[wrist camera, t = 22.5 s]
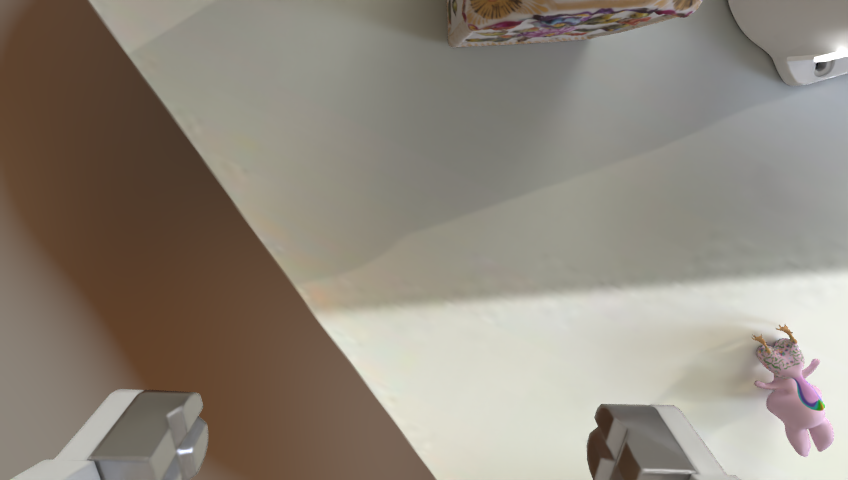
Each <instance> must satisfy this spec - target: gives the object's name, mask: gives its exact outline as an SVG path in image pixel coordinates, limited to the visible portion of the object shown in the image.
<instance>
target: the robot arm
mask: <svg viewBox="0 0 848 480" xmlns="http://www.w3.org/2000/svg"><path fill="white" fill-rule="evenodd" d="M728 3H729V6H730V9H731V12H732V14H733V16H734V18H735V20H736V22H737V24H738V25H739V27H740V28H741V30H742V31H743V32H744V34H745V35H746V36H747V37H748V38H749V39H750V40H752V41H753V42H754V43H755V44H757V45H758V46H759V47H761V48H762V49H763V50H765V51H766V52H767V53H768V54H769V55H770V56H771V57H772V59H773V61H774V64H775V66H776V68H777V71H778V73H779V75H780V77H781V78H782V80H783V81H784V82H785V83H786V84H787V85H789V86H800V85H807V84H811V83H815V82H819V81H822V80H826V79H830V78H833V77H837V76H841V75H844V74H848V0H728ZM817 62H819V65H818V68H817V69H815V66H816V63H817ZM202 408H203V404H202V400H201V396H200V394H198V393H195V392H177V391H159V390H131V389H118V390H116V391H114V392H113V393H111V394H110V395H109V396H108V397H107V398H106V399H105V401H104V402H103V403H102V404H101V405H100V406H99V408H98V409H97V410H96V411H95V412H94V413H93V414H92V416H91V417H90V418H89V419H88V420H87V421H86V423H85V424H84V425H83V426H82V427H81V428H80V430H79V431H78V432H77V433H76V434H75V435H74V437H73V438H72V439H71V440H70V441H69V442H68V443H67V445H66V446H65V447H64V448H63V449H62V450H61V452H60V453H59V454H58V455H57V456H56V458H55V459H54V460H43V461H42V462H40V463H38V464H36V465H35V466H33V467H31V468H29V469H28V470H26V471H24V472H22V473H21V474H19V475H17V476H15V477H14V478H12V479H10V480H190V479H191V478H192V477H194V476H195V475H196V474H197V473H198V471H199V469H200V467H201V465H202V463H203V460H204V458H205V454H206V450H207V446H208V428H207V424H206V423H205V422H204V421H203V420H202V419H201V418H200V417H199V416H198V415H199V413H200V412H201V410H202ZM594 418H595V420H596V422H597V425H598V427H597V428H596V429H595V430H593V431H592V432H591V433H590V434H589V438H588V443H587V461H588V465H589V469H590V472H591V475H592V478H593V480H741V479H739V478H738V477H737V476H734V475H727V474H726V473H725V471H724V470H723V468H722V467H721V466H720V464H719V463H718V462H717V460H716V459H715V457H714V456H713V455H712V453H711V452H710V450H709V449H708V448H707V446H706V445H705V443H704V442H703V441H702V439H701V438H700V437H699V435H698V434H697V432H696V431H695V430H694V428H693V427H692V425H691V424H690V423H689V421H688V420H687V418H686V417H685V416H684V414H683V413H682V411H681V410H680V409H679V408H677V407H676V406H674V405H627V404H601V405H600V406H599V407H598V408H597V411H596V414H595V417H594Z"/></svg>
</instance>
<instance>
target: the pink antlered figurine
mask: <svg viewBox="0 0 848 480" xmlns="http://www.w3.org/2000/svg"><path fill="white" fill-rule="evenodd" d="M779 326H780V325H779ZM776 329H777V328H776ZM777 330H780V331H781V330H782V331H784V332H785V333H787V334H788V335H789V337H790V339H786V338H782V339H779V340H777V341H776V343H775V346H774V347H771V346H767V345H766V343H767V342H765V341H764V339H763V338H762V334H761V336H759V337H755V336H754V335H753V334H752V335H753V336H754V337H755V339H754V338H752V339H753V340H757V341H759V342H760V343H762V344H763V345H764V346H761V347H759V348H758V350H757V357H758V359H759V360H760V362H761V363H762V364H763V365H764V366H765V367H766V368H767V369H768V370H769V371H771V372H772V373H774V380H773V381H772V382H770V383H762V382H760V381H755V383H754V384H755V385H756V386H757V387H760V388H764V389H774V392H772V393H771V394H770V395H769V396H768V398H767V402H766V406H767V409H768V410H769V411H770V412H772V413H773V414H774V415H776V416H777V417H778V418H779V419H781V420H782V421H783V423H784V425H785V431H786V435H787V438H788V440H789V442H790V443H791V445H792V446H793V448H794V449H795V451H796V452H797V453H798V454H799V455H801V456H804V457H807V456H808V454H809V451H810V447H811V444H810V439H809V434H808V431H807V429H809V431H810V434H811V437H812V439H813V441H814V444H815V446H816V447H817V449H818V451H820V452H821V451H823V450H825V449H826V448H828V447H829V446H830V445H831V444H832V442H833V440H834V432H833V427H832V425H831V423H830V421H829V420H828V419H827V418H825V411H824V408H825V405H824V404H823V402H822V393H821V390H820V389H819V388H818V387H816V386H814V385H811V384H809V383H808V382H807V381H806V380H805V378H806V377H807V376H809V375H810V374H811V373H812V372H813V371H814V370H815V369H816V367H817V366H818V365H819V363H820V361H819V360H818V359H813V360H812V362H811V364H810V365H809V367H807V368H806V369H804V370H802V369H803V367H804V357H803V355H802V352H801V351H800V349H799V347H798V345H797V341H796V340H795V339H794V337H793V336H792V334H791V333H793V332H790V330H789V329H788V327H787V326H786V325H785V327H781V326H780V329H777Z"/></svg>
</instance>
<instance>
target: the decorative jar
mask: <svg viewBox="0 0 848 480" xmlns="http://www.w3.org/2000/svg"><path fill="white" fill-rule="evenodd" d="M702 1H703V0H447V22H448V44H449V46H450V47H452V48H454V47H468V46H489V45H512V44H528V43H541V42H561V41H572V40H586V39H592V38H595V37H599V36H604V35H610V34H614V33H620V32H623V31H628V30H632V29H635V28H640V27H643V26H646V25H651V24H654V23H658V22H662V21H665V20H668V19H672V18H676V17H683V18H685V17H687V16H689V15H690V14H693V13H694V12H695V11H696V10H697V9H698V7H699V6H700V4H701V3H702Z"/></svg>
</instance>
